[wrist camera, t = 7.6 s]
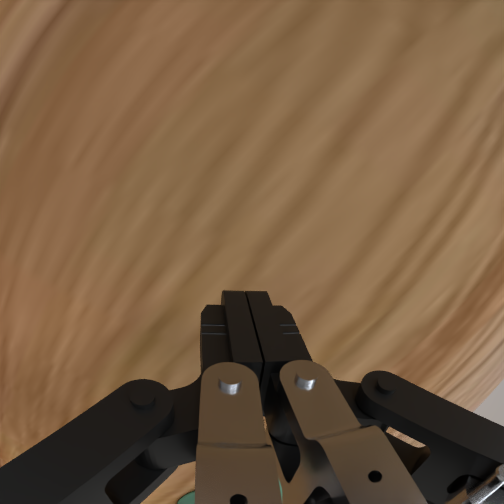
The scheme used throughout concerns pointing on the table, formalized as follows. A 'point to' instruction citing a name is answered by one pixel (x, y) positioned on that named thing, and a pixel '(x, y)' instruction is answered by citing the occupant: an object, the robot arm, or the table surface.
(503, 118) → the table surface
